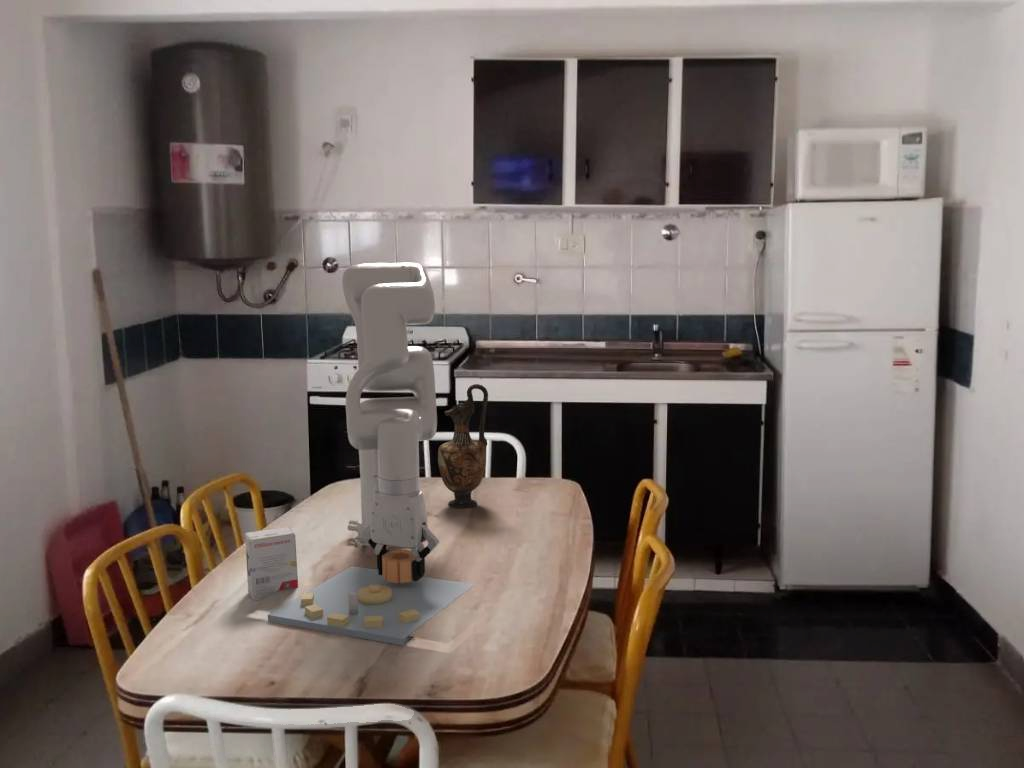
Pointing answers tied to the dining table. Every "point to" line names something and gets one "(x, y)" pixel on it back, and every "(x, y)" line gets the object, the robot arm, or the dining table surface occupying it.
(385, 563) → the planet gear
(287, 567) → the ink box
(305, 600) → the carrier board
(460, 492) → the vase
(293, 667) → the dining table surface
